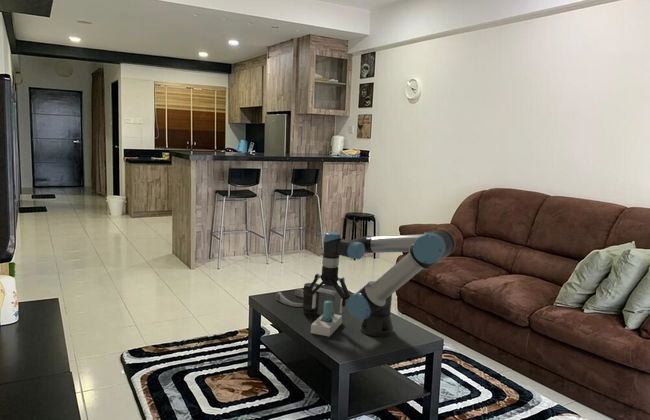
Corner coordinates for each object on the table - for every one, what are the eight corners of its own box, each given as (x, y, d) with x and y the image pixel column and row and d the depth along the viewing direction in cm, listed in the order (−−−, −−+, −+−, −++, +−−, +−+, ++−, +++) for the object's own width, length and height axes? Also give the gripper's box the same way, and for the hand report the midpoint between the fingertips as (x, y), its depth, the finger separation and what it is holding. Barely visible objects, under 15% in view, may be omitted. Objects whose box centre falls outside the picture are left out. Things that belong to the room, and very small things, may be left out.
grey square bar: (334, 295, 236) (334, 292, 236) (309, 290, 242) (310, 287, 242) (336, 294, 238) (336, 290, 238) (312, 289, 244) (312, 286, 244)
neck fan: (319, 303, 269) (320, 294, 268) (296, 309, 257) (296, 300, 256) (298, 294, 282) (298, 286, 281) (274, 300, 270) (275, 291, 269)
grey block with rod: (341, 323, 240) (343, 295, 238) (329, 336, 224) (331, 306, 222) (324, 320, 243) (325, 292, 241) (310, 332, 226) (312, 302, 224)
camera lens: (319, 311, 256) (320, 283, 254) (317, 316, 248) (319, 287, 246) (303, 309, 256) (305, 281, 254) (301, 315, 248) (302, 286, 246)
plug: (333, 324, 235) (335, 301, 233) (330, 327, 230) (331, 304, 228) (323, 322, 236) (325, 299, 235) (319, 325, 232) (321, 302, 230)
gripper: (358, 267, 229) (355, 312, 232) (308, 260, 237) (305, 303, 240) (354, 271, 222) (350, 317, 225) (302, 263, 230) (299, 307, 233)
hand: (327, 310), depth 232 cm, fingers open, 13 cm apart
